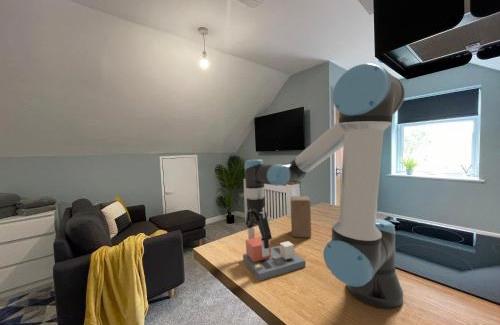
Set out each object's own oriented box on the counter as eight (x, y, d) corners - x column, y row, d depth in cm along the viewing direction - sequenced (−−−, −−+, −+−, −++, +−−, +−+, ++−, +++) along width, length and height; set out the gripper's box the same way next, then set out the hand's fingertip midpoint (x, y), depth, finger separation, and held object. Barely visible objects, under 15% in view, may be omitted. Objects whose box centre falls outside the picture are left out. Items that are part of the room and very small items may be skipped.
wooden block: (311, 238, 107) (310, 200, 106) (291, 237, 109) (290, 200, 108) (310, 231, 117) (308, 195, 116) (291, 230, 119) (290, 196, 118)
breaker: (294, 257, 82) (293, 244, 82) (285, 259, 81) (285, 247, 81) (288, 252, 86) (288, 241, 86) (280, 255, 85) (279, 243, 84)
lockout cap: (270, 257, 83) (270, 242, 83) (253, 262, 81) (252, 247, 80) (262, 249, 90) (261, 236, 90) (246, 253, 88) (245, 239, 87)
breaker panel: (305, 266, 81) (305, 259, 81) (259, 281, 73) (258, 273, 73) (283, 249, 96) (283, 243, 96) (243, 260, 88) (242, 253, 88)
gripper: (279, 201, 74) (282, 259, 75) (252, 191, 97) (254, 236, 98) (260, 204, 71) (263, 265, 72) (236, 193, 95) (239, 239, 95)
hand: (258, 248), depth 85 cm, fingers open, 13 cm apart
